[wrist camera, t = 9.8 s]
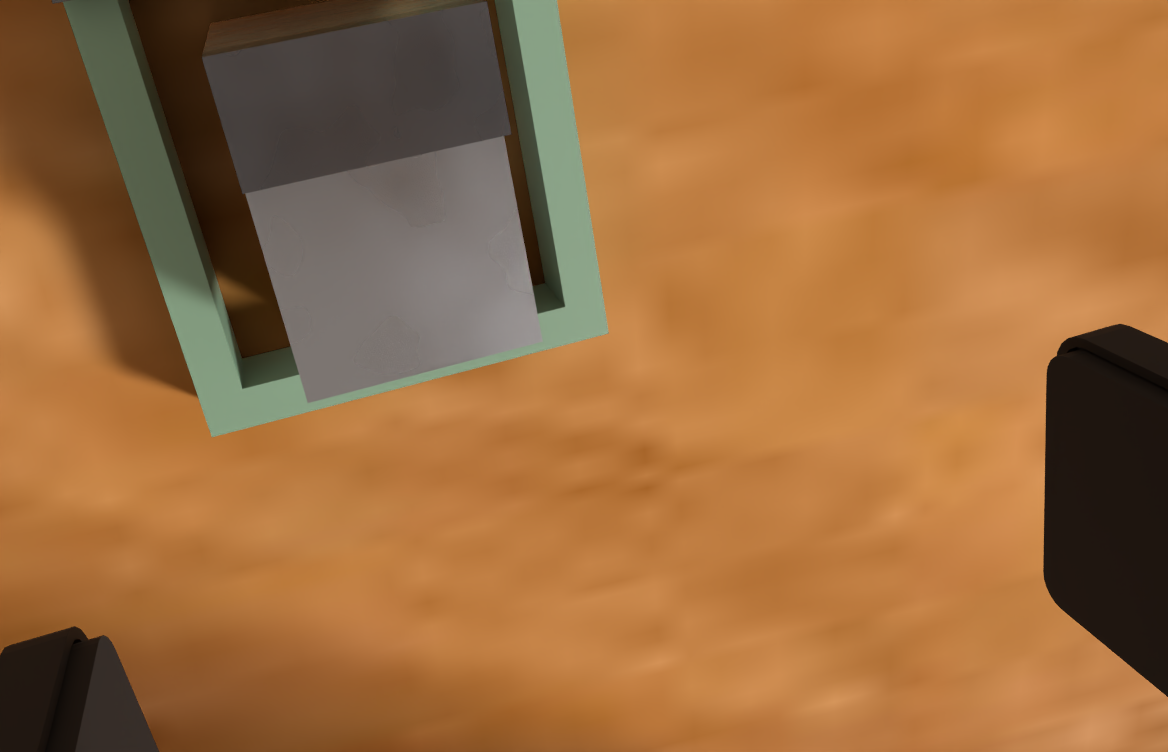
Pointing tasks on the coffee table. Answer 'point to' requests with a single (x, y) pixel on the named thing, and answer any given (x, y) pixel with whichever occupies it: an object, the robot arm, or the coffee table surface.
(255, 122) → the chute block
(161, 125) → the frame
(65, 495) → the coffee table surface
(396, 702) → the coffee table surface
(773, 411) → the coffee table surface
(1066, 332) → the coffee table surface
